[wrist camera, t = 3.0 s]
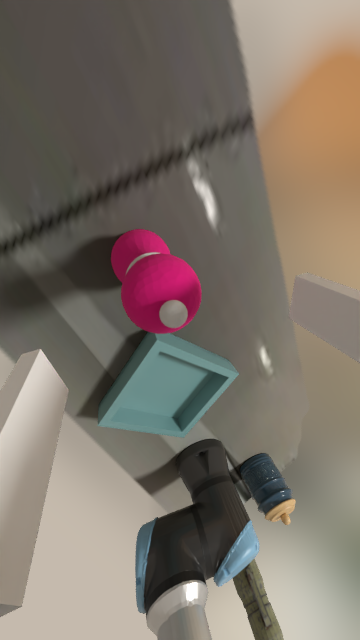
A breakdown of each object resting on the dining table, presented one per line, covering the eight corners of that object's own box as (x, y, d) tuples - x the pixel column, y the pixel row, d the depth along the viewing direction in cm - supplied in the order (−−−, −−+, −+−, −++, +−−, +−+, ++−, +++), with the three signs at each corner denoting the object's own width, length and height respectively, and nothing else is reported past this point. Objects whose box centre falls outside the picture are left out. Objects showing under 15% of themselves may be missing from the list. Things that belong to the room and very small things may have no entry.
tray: (177, 420, 50) (183, 437, 46) (98, 405, 40) (97, 425, 36) (228, 359, 45) (239, 373, 41) (152, 325, 35) (157, 339, 31)
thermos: (208, 507, 84) (260, 667, 55) (206, 497, 78) (264, 670, 49) (227, 498, 86) (288, 649, 57) (226, 487, 80) (294, 649, 50)
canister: (272, 448, 75) (312, 507, 60) (264, 466, 81) (298, 524, 66) (242, 458, 71) (276, 524, 57) (236, 477, 78) (265, 540, 63)
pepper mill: (101, 261, 28) (88, 345, 11) (128, 214, 26) (162, 226, 9) (145, 287, 31) (187, 380, 15) (172, 247, 30) (253, 299, 13)
